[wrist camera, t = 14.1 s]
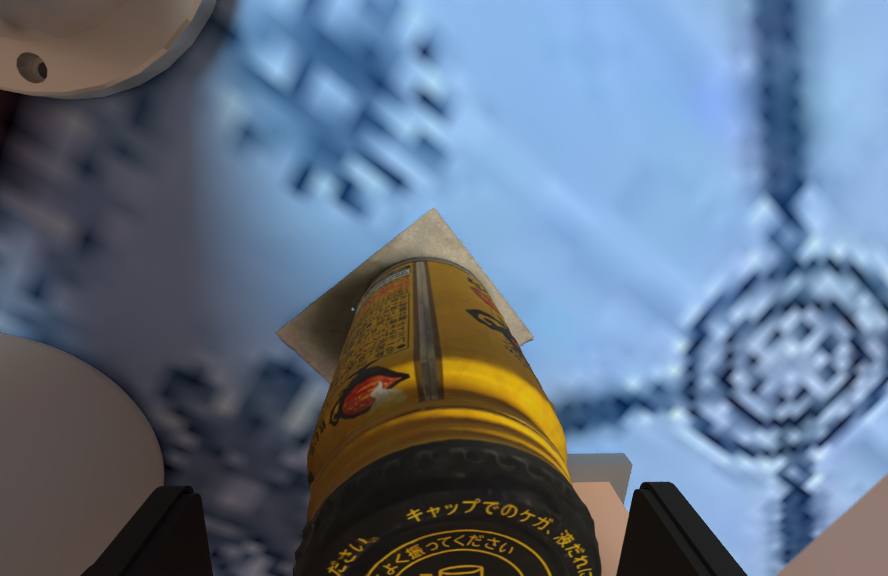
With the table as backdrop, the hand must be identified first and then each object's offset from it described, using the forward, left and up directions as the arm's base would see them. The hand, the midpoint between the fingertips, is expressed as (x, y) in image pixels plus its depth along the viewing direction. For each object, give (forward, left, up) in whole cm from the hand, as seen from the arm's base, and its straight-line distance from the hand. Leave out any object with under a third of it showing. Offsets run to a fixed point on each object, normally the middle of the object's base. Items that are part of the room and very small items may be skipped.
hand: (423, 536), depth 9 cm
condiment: (-1, 0, -10) cm, 10 cm away
